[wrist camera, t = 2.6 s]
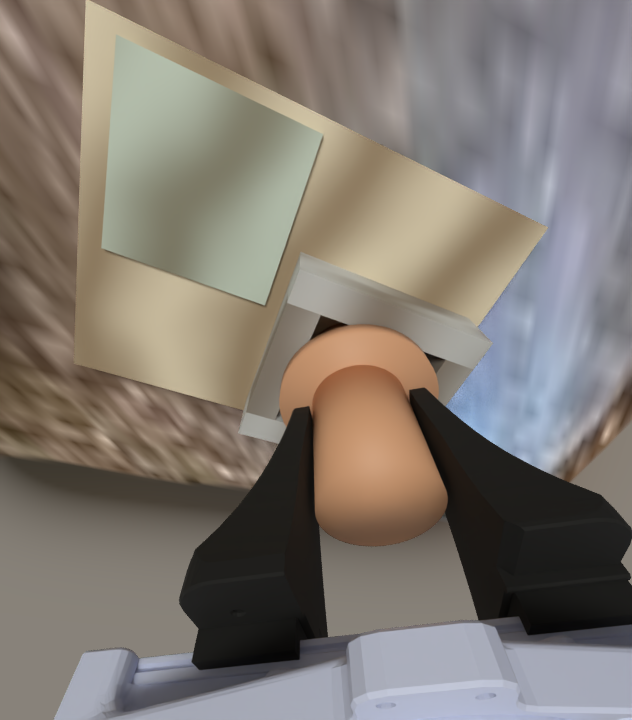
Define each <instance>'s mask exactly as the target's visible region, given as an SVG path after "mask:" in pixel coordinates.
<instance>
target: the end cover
mask: <svg viewBox="0 0 632 720" xmlns="http://www.w3.org/2000/svg"><path fill="white" fill-rule="evenodd" d="M424 387H425V388H426V389H427V390H428V391H429V392H430V393H432V394H433V395H434V396H435V397H436V398H437V399H438V396H439V385H438V380H437V376H436V373H435V371H434V369H433V367H432V365H431V364H430V362H429V360H428V358H427V357H426V355H425V353H424V352H423V351H422V349H421V348H420V347H419V346H418V345H417V344H416V343H415V342H414V341H413V340H411V339H410V338H409V337H407V336H405V335H404V334H402V333H400V332H398V331H396V330H393V329H390V328H387V327H383V326H378V325H371V324H356V325H347V324H345V323H339V324H336V325H333V326H331V327H329V328H327V329H325V330H324V331H322V332H321V333H320V334H318V335H317V336H316V337H315V338H313V339H311V340H310V341H308V342H307V343H306V344H305V345H303V346H302V347H301V348H300V349H299V350H298V351H297V352H296V353H295V354H294V356H293V357H292V358H291V360H290V361H289V363H288V365H287V367H286V369H285V371H284V374H283V377H282V381H281V387H280V397H279V407H280V413H281V416H282V419H283V422H284V424H285V426H286V427H287V425H288V422H289V420H290V417H291V414H292V411H293V410H294V409H295V408H300V407H307V406H309V407H310V411H311V415H312V419H313V457H314V495H315V516H316V519H317V522H318V523H319V525H320V527H321V528H322V529H323V530H324V531H325V532H326V533H327V534H329V535H330V536H332V537H333V538H335V539H338V540H340V541H343V542H345V543H349V544H353V545H359V546H386V545H392V544H396V543H400V542H404V541H407V540H410V539H412V538H415V537H417V536H419V535H421V534H422V533H424V532H426V531H427V530H429V529H430V528H432V527H433V526H434V525H435V524H436V523H437V522H438V521H439V520H440V519H441V517H442V516H443V514H444V512H445V510H446V508H447V503H448V495H447V491H446V489H445V486H444V484H443V481H442V479H441V477H440V474H439V472H438V469H437V467H436V465H435V462H434V460H433V457H432V455H431V452H430V450H429V448H428V445H427V443H426V440H425V438H424V436H423V433H422V431H421V428H420V426H419V424H418V421H417V419H416V416H415V414H414V412H413V409H412V407H411V404H410V398H409V390H412V389H418V388H424Z"/></svg>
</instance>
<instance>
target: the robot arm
mask: <svg viewBox="0 0 632 720" xmlns="http://www.w3.org/2000/svg"><path fill="white" fill-rule="evenodd" d="M409 398H410V404H411V407H412V409H413V412H414V414H415V416H416V419H417V421H418V424H419V426H420V428H421V431H422V433H423V436H424V438H425V440H426V443H427V445H428V448H429V450H430V452H431V455H432V457H433V460H434V462H435V465H436V467H437V469H438V472H439V474H440V477H441V479H442V481H443V484H444V486H445V489H446V491H447V495H448V503H447V508H446V510H445V514H446V517H447V520H448V523H449V526H450V529H451V532H452V535H453V538H454V541H455V544H456V547H457V550H458V553H459V557H460V560H461V563H462V566H463V569H464V572H465V576H466V579H467V582H468V585H469V589H470V592H471V595H472V599H473V602H474V606H475V609H476V613H477V616H478V620H459V621H450V622H441V623H432V624H422V625H413V626H404V627H395V628H386V629H378V630H373V631H369V632H364V633H361V634H354V635H345V636H335V637H328V632H327V622H326V611H325V599H324V588H323V576H322V562H321V550H320V534H319V523H318V522H317V519H316V516H315V495H314V457H313V419H312V415H311V411H310V407H309V406H307V407H300V408H295V409H294V410H293V411H292V414H291V417H290V420H289V422H288V425H287V427H286V429H285V432H284V434H283V436H282V438H281V440H280V442H279V444H278V447H277V448H276V450H275V452H274V454H273V456H272V458H271V459H270V461H269V463H268V465H267V466H266V468H265V470H264V471H263V473H262V474H261V476H260V477H259V479H258V480H257V482H256V483H255V485H254V486H253V487H252V489H251V490H250V492H249V493H248V494H247V495H246V497H245V498H244V500H243V501H242V502H241V503H240V504H239V506H238V507H237V508H236V509H235V510H234V511H233V512H232V513H231V515H230V516H229V517H228V518H227V519H226V520H225V521H224V522H223V524H222V525H221V526H220V527H219V528H218V529H217V530H216V531H215V532H214V533H213V534H211V535H210V536H209V537H208V538H207V539H206V540H205V541H204V542H203V543H202V544H201V545H200V546H199V547H197V549H195V551H194V555H193V557H192V559H191V561H190V564H189V567H188V570H187V573H186V576H185V580H184V583H183V587H182V590H181V594H180V599H179V602H180V603H179V604H180V605H181V607H182V609H183V611H184V612H185V613H186V614H187V616H188V617H189V618H190V619H191V620H192V621H193V622H194V624H195V625H196V626H197V627H198V628H199V630H198V634H197V639H196V643H195V648H194V652H190V653H181V654H171V655H162V656H155V657H154V656H153V657H144V658H138V656H137V655H136V654H135V652H133V651H132V650H130V649H127V648H109V649H101V650H91V651H86V652H85V653H83V655H82V657H81V659H80V662H79V664H78V666H77V668H76V670H75V673H74V675H73V677H72V680H71V682H70V684H69V687H68V689H67V691H66V693H65V696H64V698H63V700H62V702H61V704H60V707H59V709H58V711H57V713H56V716H55V718H54V720H632V585H631V584H630V583H629V581H628V580H630V578H631V576H630V573H629V572H628V571H627V569H626V568H625V567H624V566H623V564H622V563H621V560H622V558H623V556H624V554H625V552H626V551H627V549H628V547H629V545H630V543H631V539H632V530H631V527H630V526H629V525H628V524H627V523H626V522H625V520H624V519H623V518H622V517H621V516H620V514H619V513H618V512H617V511H616V510H615V509H614V508H613V507H612V506H611V505H610V504H609V503H608V502H607V501H606V500H605V499H604V498H603V497H602V496H601V495H600V494H597V493H595V492H592V491H589V490H587V489H584V488H582V487H579V486H577V485H574V484H572V483H569V482H567V481H564V480H562V479H560V478H557V477H555V476H553V475H551V474H549V473H546V472H544V471H542V470H540V469H538V468H536V467H534V466H532V465H530V464H528V463H526V462H524V461H522V460H521V459H519V458H517V457H515V456H513V455H511V454H510V453H508V452H506V451H504V450H503V449H501V448H500V447H498V446H496V445H495V444H493V443H492V442H490V441H489V440H487V439H486V438H484V437H483V436H481V435H480V434H479V433H477V432H476V431H475V430H473V429H472V428H471V427H469V426H468V425H467V424H466V423H464V422H463V421H462V420H461V419H459V418H458V417H457V416H456V415H455V414H453V413H452V412H451V411H450V410H449V409H448V408H446V407H445V406H444V405H443V404H442V403H441V402H440V401H439V400H438V399H437V398H436V397H435V396H434V395H433V394H432V393H430V392H429V391H428V390H427V389H426V388H425V387H424V388H418V389H412V390H409Z"/></svg>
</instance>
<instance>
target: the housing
mask: <svg viewBox="0 0 632 720" xmlns="http://www.w3.org/2000/svg"><path fill="white" fill-rule="evenodd" d="M547 229H548V227H546V226H544V225H542V224H540V223H538V222H536V221H534V220H532V219H530V218H528V217H526V216H524V215H522V214H520V213H518V212H516V211H514V210H512V209H510V208H508V207H506V206H504V205H502V204H500V203H497V202H495V201H493V200H491V199H489V198H487V197H485V196H483V195H481V194H479V193H477V192H475V191H473V190H471V189H469V188H467V187H465V186H463V185H461V184H459V183H457V182H455V181H453V180H451V179H449V178H447V177H445V176H443V175H441V174H439V173H437V172H435V171H433V170H431V169H429V168H427V167H425V166H423V165H421V164H419V163H417V162H415V161H413V160H411V159H409V158H407V157H405V156H403V155H401V154H399V153H397V152H394V151H392V150H390V149H388V148H386V147H384V146H382V145H380V144H378V143H376V142H374V141H372V140H370V139H368V138H366V137H364V136H362V135H360V134H358V133H356V132H354V131H352V130H350V129H348V128H346V127H344V126H342V125H340V124H338V123H336V122H334V121H332V120H330V119H328V118H326V117H324V116H322V115H320V114H318V113H316V112H314V111H312V110H310V109H308V108H306V107H304V106H302V105H300V104H298V103H296V102H293V101H291V100H289V99H287V98H285V97H283V96H281V95H279V94H277V93H275V92H273V91H271V90H269V89H267V88H265V87H263V86H261V85H259V84H257V83H255V82H253V81H251V80H249V79H247V78H245V77H243V76H241V75H239V74H237V73H235V72H233V71H231V70H229V69H227V68H225V67H223V66H221V65H219V64H217V63H215V62H213V61H211V60H209V59H207V58H205V57H203V56H201V55H199V54H197V53H195V52H193V51H190V50H188V49H186V48H184V47H182V46H180V45H178V44H176V43H174V42H172V41H170V40H168V39H166V38H164V37H162V36H160V35H158V34H156V33H154V32H152V31H150V30H148V29H146V28H144V27H142V26H140V25H138V24H136V23H134V22H132V21H130V20H128V19H126V18H124V17H122V16H120V15H118V14H116V13H114V12H112V11H110V10H108V9H106V8H104V7H102V6H100V5H98V4H96V3H94V2H92V1H89V0H86V12H85V42H84V72H83V101H82V131H81V161H80V191H79V220H78V250H77V280H76V310H75V339H74V363H75V364H78V365H82V366H85V367H89V368H93V369H96V370H100V371H103V372H107V373H111V374H114V375H118V376H122V377H125V378H129V379H132V380H136V381H140V382H143V383H147V384H150V385H154V386H158V387H161V388H165V389H168V390H172V391H176V392H179V393H183V394H186V395H190V396H194V397H197V398H201V399H204V400H208V401H212V402H215V403H219V404H222V405H226V406H230V407H233V408H237V409H240V410H244V411H243V415H242V419H241V424H240V428H239V432H238V433H240V434H243V435H247V436H251V437H255V438H259V439H263V440H266V441H270V442H274V443H278V444H279V442H280V440H281V438H282V436H283V434H284V432H285V429H286V426H285V424H284V422H283V419H282V416H281V413H280V407H279V397H280V387H281V381H282V377H283V374H284V371H285V369H286V367H287V365H288V363H289V361H290V360H291V358H292V357H293V356H294V354H295V353H296V352H297V351H298V350H299V349H300V348H301V347H302V346H303V345H305V344H306V343H307V342H308V341H310V340H311V339H313V338H315V337H316V336H317V335H318V334H320V333H321V332H322V331H324V330H325V329H327V328H329V327H331V326H333V325H336V324H339V323H345V324H347V325H356V324H371V325H378V326H383V327H387V328H390V329H393V330H396V331H398V332H400V333H402V334H404V335H405V336H407V337H409V338H410V339H411V340H413V341H414V342H415V343H416V344H417V345H418V346H419V347H420V348H421V349H422V351H423V352H424V353H425V355H426V357H427V358H428V360H429V362H430V364H431V365H432V367H433V369H434V371H435V373H436V376H437V380H438V385H439V396H438V400H439V401H440V402H441V403H442V404H443V405H444V406H446V405H447V403H448V402H449V401H450V399H451V398H452V397H453V396H454V394H455V393H456V392H457V390H458V389H459V388H460V386H461V385H462V384H463V382H464V381H465V380H466V378H467V377H468V376H469V374H470V373H471V372H472V370H473V369H474V368H475V366H476V365H477V364H478V363H479V361H480V360H481V359H482V357H483V356H484V355H485V353H486V352H487V351H488V349H489V348H490V347H491V345H492V344H493V343H492V342H491V341H490V340H489V339H488V338H487V337H486V336H485V334H484V333H483V332H482V331H481V330H480V329H479V328H478V326H479V324H480V323H481V322H482V320H483V319H484V317H485V316H486V315H487V313H488V312H489V310H490V309H491V307H492V306H493V305H494V303H495V302H496V300H497V299H498V298H499V296H500V295H501V293H502V292H503V291H504V289H505V288H506V286H507V285H508V284H509V282H510V281H511V279H512V278H513V277H514V275H515V274H516V272H517V271H518V269H519V268H520V267H521V265H522V264H523V262H524V261H525V260H526V258H527V257H528V255H529V254H530V253H531V251H532V250H533V248H534V247H535V246H536V244H537V243H538V241H539V240H540V239H541V237H542V236H543V234H544V233H545V232H546V230H547Z"/></svg>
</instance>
